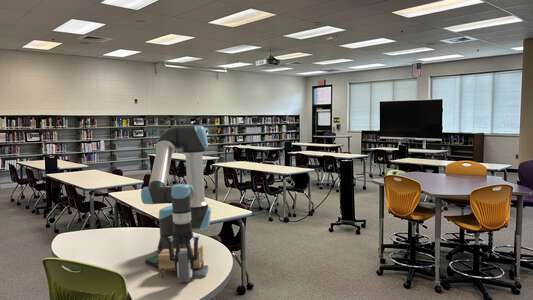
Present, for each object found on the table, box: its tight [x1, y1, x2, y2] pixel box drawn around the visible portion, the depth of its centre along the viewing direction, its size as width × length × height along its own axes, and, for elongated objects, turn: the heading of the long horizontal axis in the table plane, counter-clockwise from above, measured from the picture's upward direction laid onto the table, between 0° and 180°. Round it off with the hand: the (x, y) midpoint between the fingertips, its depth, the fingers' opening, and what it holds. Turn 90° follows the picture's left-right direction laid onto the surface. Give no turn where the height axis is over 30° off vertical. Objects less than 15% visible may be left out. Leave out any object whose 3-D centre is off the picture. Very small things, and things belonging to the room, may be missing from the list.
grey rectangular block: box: [178, 251, 193, 283], centre depth 167 cm, size 13×4×12 cm, turn 178°
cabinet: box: [157, 245, 205, 279], centre depth 173 cm, size 8×18×11 cm, turn 88°
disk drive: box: [144, 254, 164, 271], centre depth 186 cm, size 10×3×15 cm
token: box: [191, 264, 209, 278], centre depth 172 cm, size 6×6×3 cm
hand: (185, 276), depth 163 cm, fingers closed on grey rectangular block, 4 cm apart
